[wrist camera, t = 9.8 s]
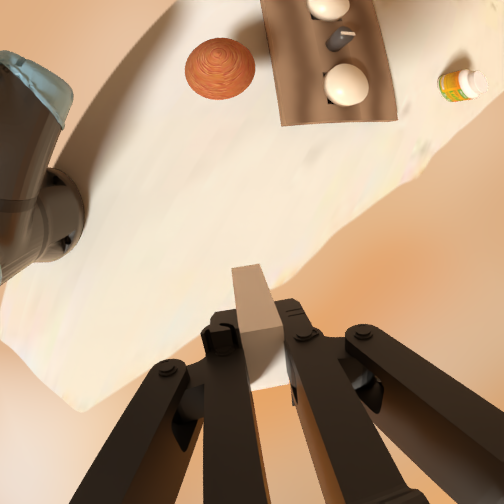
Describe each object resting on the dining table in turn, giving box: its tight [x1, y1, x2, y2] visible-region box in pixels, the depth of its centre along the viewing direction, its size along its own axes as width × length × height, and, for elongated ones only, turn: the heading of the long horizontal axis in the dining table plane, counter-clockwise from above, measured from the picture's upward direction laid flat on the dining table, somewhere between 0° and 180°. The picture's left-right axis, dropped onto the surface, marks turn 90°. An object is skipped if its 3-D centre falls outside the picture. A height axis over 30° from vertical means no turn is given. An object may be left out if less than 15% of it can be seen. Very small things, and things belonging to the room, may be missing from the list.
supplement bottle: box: [437, 69, 488, 102], centre depth 37 cm, size 5×5×10 cm
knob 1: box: [306, 0, 350, 22], centre depth 34 cm, size 6×6×6 cm
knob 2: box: [323, 64, 369, 107], centre depth 38 cm, size 6×6×6 cm
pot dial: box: [325, 26, 355, 52], centre depth 34 cm, size 2×2×5 cm
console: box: [260, 0, 398, 126], centre depth 38 cm, size 18×24×3 cm
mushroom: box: [185, 38, 255, 100], centre depth 32 cm, size 8×8×15 cm
